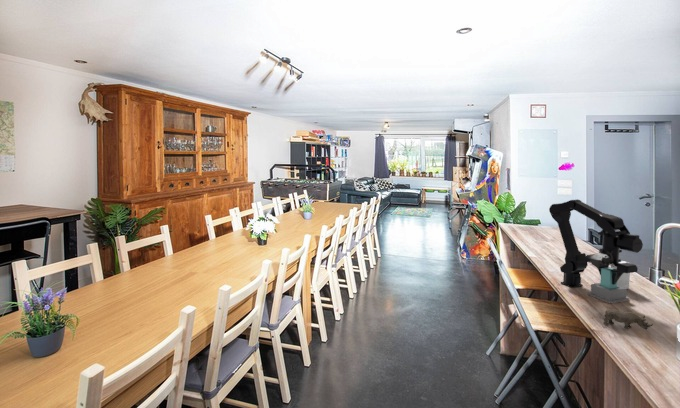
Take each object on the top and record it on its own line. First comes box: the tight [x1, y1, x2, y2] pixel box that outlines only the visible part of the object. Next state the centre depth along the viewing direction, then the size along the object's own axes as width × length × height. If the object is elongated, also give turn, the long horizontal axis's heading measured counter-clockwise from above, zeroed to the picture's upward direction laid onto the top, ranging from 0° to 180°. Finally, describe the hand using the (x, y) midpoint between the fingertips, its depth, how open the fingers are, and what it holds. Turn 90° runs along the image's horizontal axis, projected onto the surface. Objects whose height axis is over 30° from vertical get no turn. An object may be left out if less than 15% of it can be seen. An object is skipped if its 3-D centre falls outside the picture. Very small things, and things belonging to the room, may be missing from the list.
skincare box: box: [610, 260, 632, 289], centre depth 163 cm, size 6×4×12 cm
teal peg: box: [599, 266, 617, 289], centre depth 152 cm, size 4×4×10 cm
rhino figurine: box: [603, 308, 654, 331], centre depth 126 cm, size 4×14×6 cm, turn 53°
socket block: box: [587, 282, 630, 304], centre depth 153 cm, size 10×10×5 cm
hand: (608, 282), depth 152 cm, fingers closed on teal peg, 4 cm apart
